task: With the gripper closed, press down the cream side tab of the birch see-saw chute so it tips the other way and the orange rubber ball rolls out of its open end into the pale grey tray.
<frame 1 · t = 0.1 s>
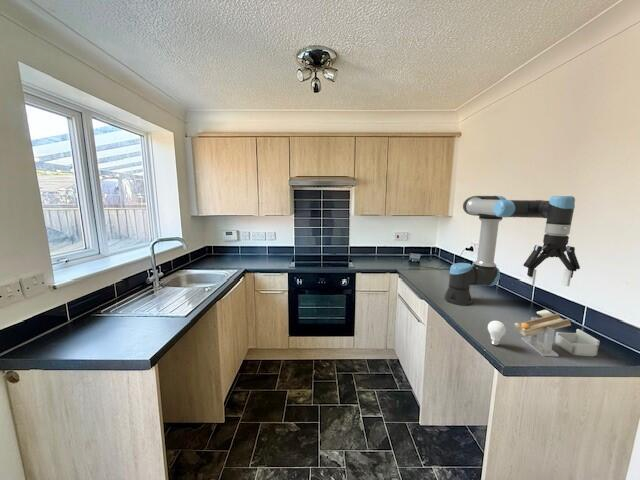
hand: (548, 284, 110), 28 cm above the table, fingers open, 13 cm apart
ball: (525, 326, 112), point 9 cm above the table, tilted 23°, touching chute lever
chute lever: (535, 321, 115), point 10 cm above the table, hinge at 20.0°, touching ball
stand: (538, 347, 113), on the table
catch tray: (574, 349, 112), on the table
light bulb: (494, 345, 115), on the table
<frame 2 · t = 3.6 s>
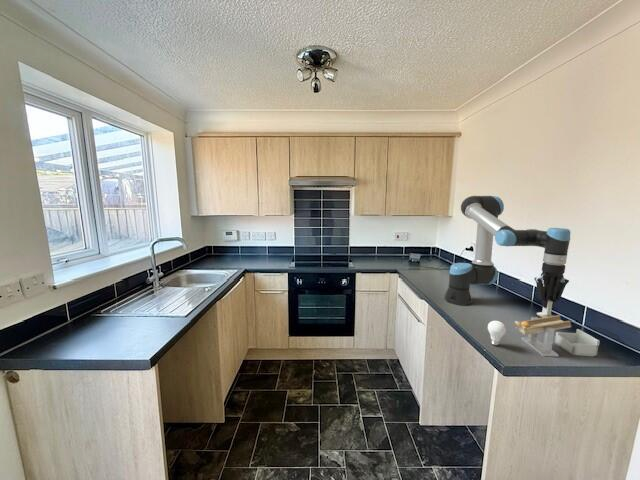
hand: (546, 314, 118), 12 cm above the table, fingers closed
ball: (525, 325, 112), point 10 cm above the table, tilted 16°, touching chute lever
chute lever: (535, 321, 115), point 10 cm above the table, hinge at 14.1°, touching ball, gripper
everything else where it was.
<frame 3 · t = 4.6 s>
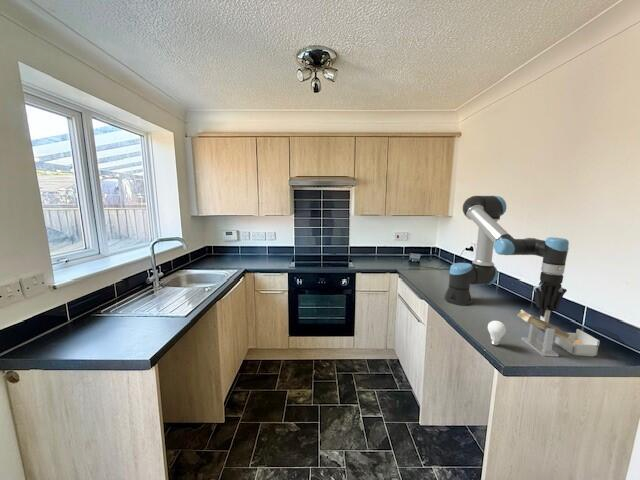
hand: (543, 322, 119), 8 cm above the table, fingers closed
ball: (578, 344, 112), point 2 cm above the table, tilted 125°, touching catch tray
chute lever: (536, 321, 115), point 10 cm above the table, hinge at -23.4°, touching gripper
everything else where it was.
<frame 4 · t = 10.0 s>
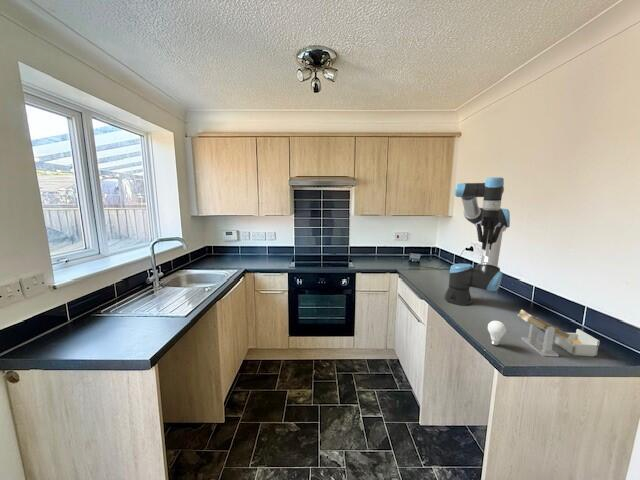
hand: (485, 256, 133), 34 cm above the table, fingers closed
ball: (576, 344, 112), point 2 cm above the table, tilted 141°, touching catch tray
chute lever: (536, 321, 115), point 10 cm above the table, hinge at -23.8°
everything else where it was.
at the end: ball inside the target area (0.7 cm from its centre), point 2.4 cm above the table; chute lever at -24° (first picture: +20°) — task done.
